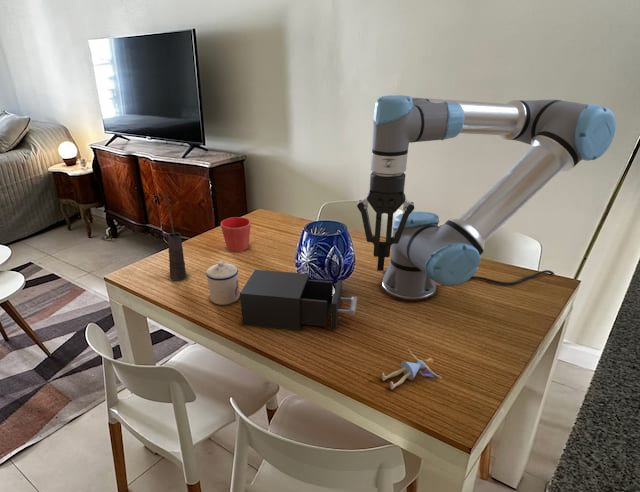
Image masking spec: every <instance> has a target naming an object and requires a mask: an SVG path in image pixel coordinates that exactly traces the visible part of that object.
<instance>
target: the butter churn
mask: <svg viewBox="0 0 640 492" xmlns="http://www.w3.org/2000/svg"><path fill="white" fill-rule="evenodd" d="M165 199H166V204H167V210H168V213H169V214H168V215H169V221H170V227H171V233H170V232H169V233H168V234H167V243H168V262H169V278H170V280H172V281H181V280H183V279H184V278H186V277H187V271H186V262H185V256H184V255H185V254H184V248H183V247H184V246H183V242H182V235H181V233H180V232H175V229H174V225H173V218H172V213H171V205H170V200H169V195H168V190H165Z"/></svg>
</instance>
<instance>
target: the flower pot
mask: <svg viewBox="0 0 640 492" xmlns="http://www.w3.org/2000/svg"><path fill="white" fill-rule="evenodd" d="M251 224H252V222H251V220H250V219H249V218H248V217H242V216H233V217H229V218H225V219H223V220H222V221H220V228H221V231H222V235H223V238H224V242H225V245H226V248H227V250H228V251H231V252H243V251H246V250H247V249H248V248H249V243H250V234H251V226H252V225H251Z"/></svg>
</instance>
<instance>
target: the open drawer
mask: <svg viewBox="0 0 640 492" xmlns="http://www.w3.org/2000/svg"><path fill="white" fill-rule="evenodd" d="M333 290H334V281H331V280H322V279H321V280H319V279H310V278H309V279H308V280H307V283H306V285H305V288H304V291H303V293H302V296H301V298H300V324H302V325H309V326H317V327H327V326H328V322H329V319H330V327H331V328H330V330H332V331H337V327H338V322H339V318H340V314H341V313H342V314H343V313H344V314H349V316H354V315H355V314H356V309H357V305H358V297H357V296H352V297H343V280H342V279H337V282H336V287H335V290H334V291H333ZM343 301H346V302H350V304H349V308H348V309H343V308H342V306H343ZM330 315H331V317H330Z"/></svg>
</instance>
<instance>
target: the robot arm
mask: <svg viewBox="0 0 640 492" xmlns="http://www.w3.org/2000/svg"><path fill="white" fill-rule="evenodd" d="M372 123H373V127H372V144H371V145H372V147H371V148H372V149H371V162H370V171H371V173H370V175H369V177H370V178H369V191H368V193H367V195H366V198H363V199H359V200H358V201H357V204H356V208H357V209H358V210H359V212H360V214H361V219H362V225H363V229H364V234H365V239H366V242H367V243H372V244H373V257H376V258H377V268H376V271H378V272H382V276H383V278H382V283H381V289H382V291H383V292H384V293H385V294H386V295H387V296H389V297H391V298H393V299H396V300H399V301H403V302H423V301H427V300H430V299H431V298H433V297H434V296H435V295H436V291H437V284H438V285H441V286H445V287H451V286H452V287H455V286H460V285H462V284H465V283H466V282H467V281H469V280H481V281H482V280H483V281H487V282H490V283H493V284H496V285H497V284H498V285H502V286H503V285H504V286H508V285H509V286H513V285H517V284H519V283H522V282H523V281H526V280H528V279H531V278H534V277H538V276H539V275H542V274H545V273H546V274H547V273H548V274H550V275H551V276H555V274H556V273H554V271H552V270H548V269H545V270H541V271H538V272H536V273H534V274H530V275H527V276H523V277H522V278H520V279H518V280H516V281H515V280H514V281H500V280H495V279H491V278H488V277H483V276H477V275H476V273H477V272H478V270H479V266H480V265H481V262H482V261H481V259H482V258H481V256H482V254H483V253H484V252H485V244H486V242H487V241H488V240H489V239H490V238H491V237H492V236H493V235H494V234H496V232H498V231H499V229H501V227H502V226H504V225H505V224H506V223H507V222H508V221H509V220H510V219H511V218H512V217H513V216H514V215H516V213H518V212H519V211H520V210H521V208H522V207H524V206H525V205H526V204H527V203H528V202H529V201H530V200H531V199H532V198H533V197H534V196H535V195H536V194H538V192H540V191H541V190H542V189H543V188H544V187H545V186H546V185H547V184H548V183H549V182H550V181H551V180H552V179H553V178H554V177H555V176H557V175H558V174H559V173H560V172H569V171H571V170H572V169H573V168H575V167H576V165H578V164H579V163H580V162H581V161H582V160H583V161H587V162H589V161H595V160H597V159H599V158H601V157H602V156H603V155H604V154H605V153H606V152H607V150H609V148H610V146H611V144H612V142H613V140H614V137H615V133H616V127H617V122H616V117H615V114H614V112H612V110H611V109H610V108H608V107H606V106H600V105H597V104H596V103H589V104H587V103H582V102H581V103H580V102H574V101H568V100H561V99H531V100H530V99H528V100H527V99H526V100H519V99H512V100H510V101H508V102H506V103H499V102H486V101H485V102H483V101H471V100H470V101H469V100H456V99H441V98H427V97H426V98H425V97H412V96H410V95H403V94H402V95H401V94H400V95H399V94H397V95H395V94H393V95H383V96H380V97H378V98H377V100H375V105H374V111H373V118H372ZM460 134H467V135H468V134H469V135H484V136H485V135H488V136H499V137H500V138H501V139H503V140H507V141H515V142H520V143H523V144H527V145H530V149H529V150H528V151H527V152H526V153H525V154H523V156H522V157H520V158H519V159H518V160H517V162H515V163H514V164H513V165H512V166H511V167H510V168H509V169H508V170H507V171H506V172H505V173H504V174H503V175H502V176H501V177H500V178H499V179H498V180H497V181H496V182H495V183H493V185H492V186H491V187H490V188H488V189H487V190H486V191H485V192H484V193H483V195H481V196H480V197H479V198H478V199H477V200H476V201H475V202H474V203H473V204H472V205H471V206H470V207H469V208H468V209H467V210H465V212H463V213H462V214H461V216H459V218H450V219H448V220H447V221H445V222H444V223H443V224H442V226H439V223H440V217H439V216H438V215H437V213H433V212H431V211H414V210H415V203H414V201H409V200H408V199H407V197H406V194H405V184H406V173H405V172H406V171H407V164H408V152H409V145H410V143H411V144H413V143H421V142H431V141H445V140H448V139H454V138H456V137H457V136H458V135H460ZM369 205H370V207H371V208H372V210H373V211H374V212H375V225H374V227H375V228H374V235H373V231H372V226H371V221H370V215H369V211H368V208H369ZM402 205H403V206H402ZM401 207H402V210H403V211H402V213H400V214H398V215H397V216H395V217H394V214H395V213H396V212H397V211H398V210H399V209H400V208H401ZM383 214H386V215H387V217H386V218H387V219H386V231H385V241H381V230H382V220H383V219H382V217H383ZM385 258H390V263H389V265H388V268H385ZM384 268H385V269H384Z"/></svg>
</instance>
